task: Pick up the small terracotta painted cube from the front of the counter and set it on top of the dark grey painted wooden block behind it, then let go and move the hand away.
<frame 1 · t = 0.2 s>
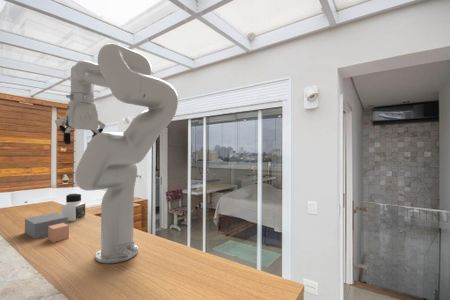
hand: (81, 144, 89), 36 cm above the counter, tool pointing down, fingers open, 9 cm apart
terracotta cube: (58, 238, 87), on the counter
medicine bottle: (73, 219, 111), on the counter
grey block: (46, 232, 94), on the counter
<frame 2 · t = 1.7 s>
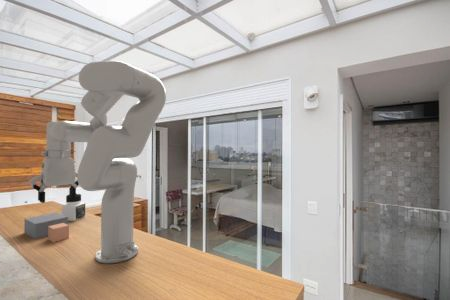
hand: (57, 199, 87), 15 cm above the counter, tool pointing down, fingers open, 9 cm apart
nothing on the counter moved.
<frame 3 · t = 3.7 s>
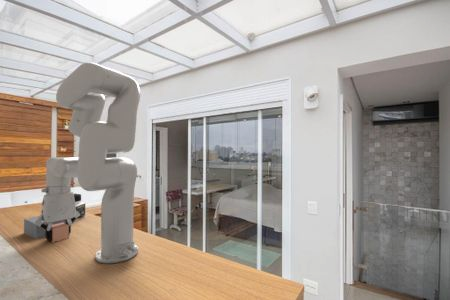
hand: (58, 237, 87), 0 cm above the counter, tool pointing down, fingers closed on terracotta cube, 4 cm apart
terracotta cube: (58, 238, 87), on the counter, touching gripper
everything else where it was.
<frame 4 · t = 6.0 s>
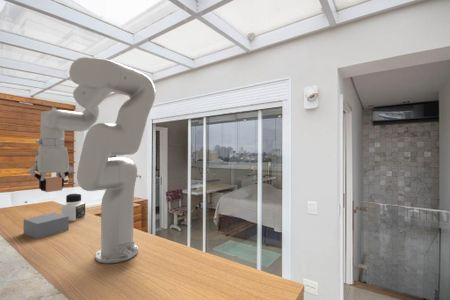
hand: (51, 189, 91), 18 cm above the counter, tool pointing down, fingers closed on terracotta cube, 4 cm apart
terracotta cube: (51, 190, 91), point 18 cm above the counter, touching gripper
everything else where it was.
when the fingers open (7 cm above the counter, at t = 8.7 s): terracotta cube drops 1 cm, resting on grey block.
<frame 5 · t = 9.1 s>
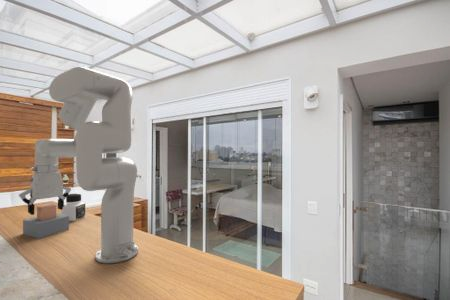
hand: (46, 211, 94), 8 cm above the counter, tool pointing down, fingers open, 9 cm apart
terracotta cube: (46, 217, 94), point 6 cm above the counter, touching grey block
grey block: (46, 232, 94), on the counter, touching terracotta cube
everything else where it was.
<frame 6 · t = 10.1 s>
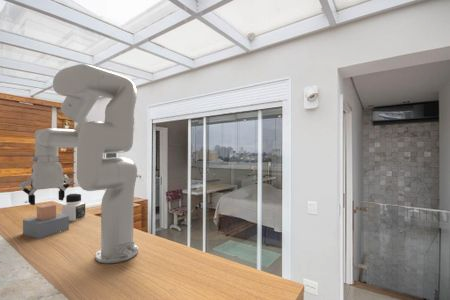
hand: (47, 202, 94), 12 cm above the counter, tool pointing down, fingers open, 9 cm apart
nothing on the counter moved.
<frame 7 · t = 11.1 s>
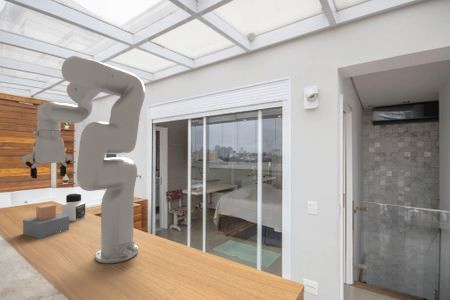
hand: (49, 177, 94), 22 cm above the counter, tool pointing down, fingers open, 9 cm apart
terracotta cube: (46, 217, 94), point 6 cm above the counter
grey block: (46, 232, 94), on the counter
everything else where it was.
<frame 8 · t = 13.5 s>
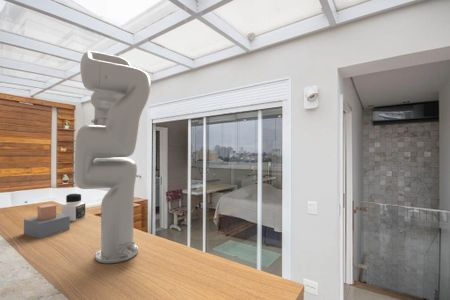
hand: (103, 161, 103), 28 cm above the counter, tool pointing down, fingers open, 9 cm apart
terracotta cube: (46, 217, 94), point 6 cm above the counter, touching grey block
grey block: (47, 232, 94), on the counter, touching terracotta cube
everything else where it was.
at the end: terracotta cube inside the target area on the grey block (0.2 cm from its centre), point 6.0 cm above the grey block's base; terracotta cube tilted 0°; the gripper is holding nothing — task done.
